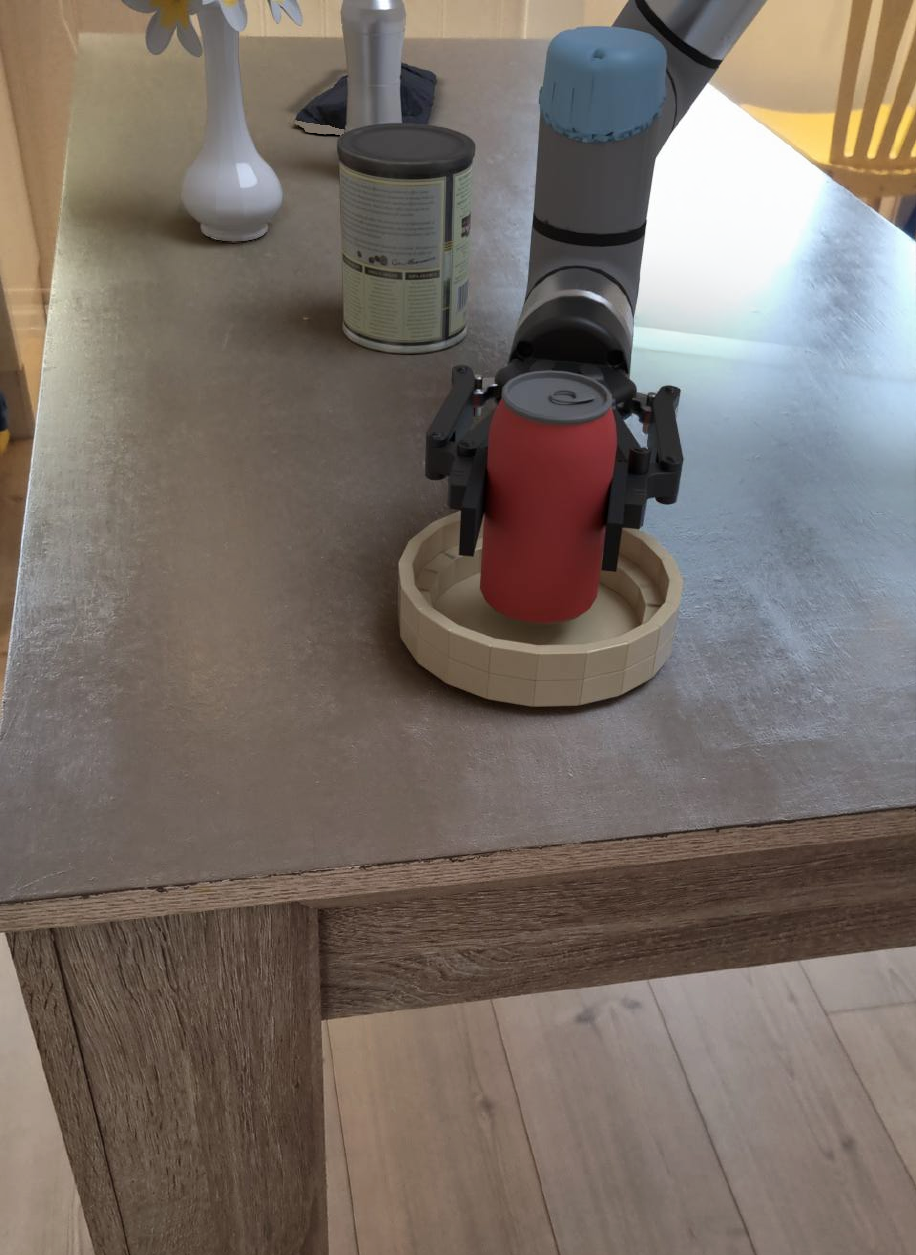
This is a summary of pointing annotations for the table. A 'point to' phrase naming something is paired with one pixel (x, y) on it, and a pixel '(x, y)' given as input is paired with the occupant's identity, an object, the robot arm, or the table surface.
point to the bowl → (537, 654)
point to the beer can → (547, 496)
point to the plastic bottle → (373, 60)
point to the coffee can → (405, 235)
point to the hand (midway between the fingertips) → (539, 539)
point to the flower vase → (220, 117)
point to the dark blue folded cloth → (413, 98)
